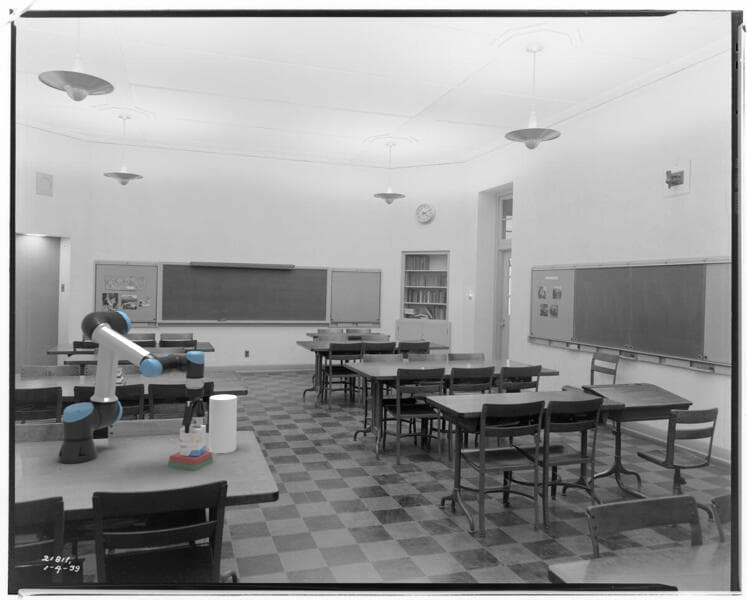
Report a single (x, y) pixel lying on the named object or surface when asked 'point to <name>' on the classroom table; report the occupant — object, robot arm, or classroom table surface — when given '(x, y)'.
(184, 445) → the ink box
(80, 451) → the robot arm
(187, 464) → the book stack
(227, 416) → the cylinder
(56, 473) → the classroom table surface
